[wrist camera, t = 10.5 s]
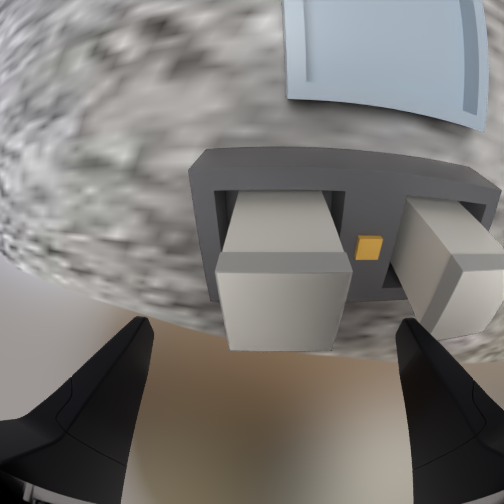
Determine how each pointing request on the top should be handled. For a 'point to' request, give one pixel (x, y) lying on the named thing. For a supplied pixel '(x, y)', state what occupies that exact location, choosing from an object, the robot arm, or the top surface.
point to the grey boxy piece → (375, 225)
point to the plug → (282, 273)
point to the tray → (390, 55)
